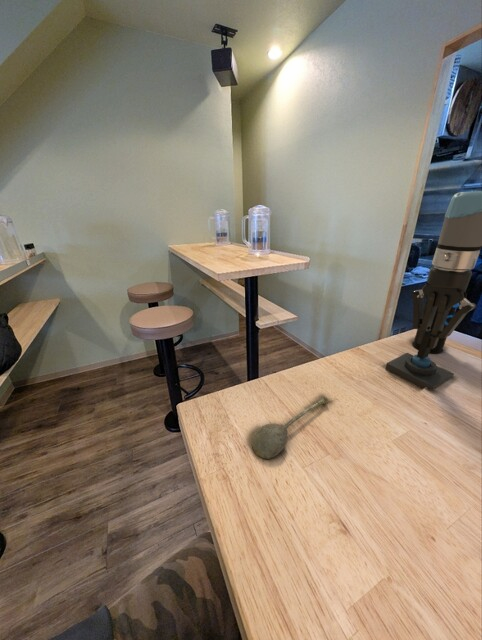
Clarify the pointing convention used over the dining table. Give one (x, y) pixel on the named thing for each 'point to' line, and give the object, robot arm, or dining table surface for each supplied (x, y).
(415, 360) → the push top
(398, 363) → the button housing
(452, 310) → the aerosol can
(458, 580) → the dining table surface
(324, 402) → the soupspoon
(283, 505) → the dining table surface
